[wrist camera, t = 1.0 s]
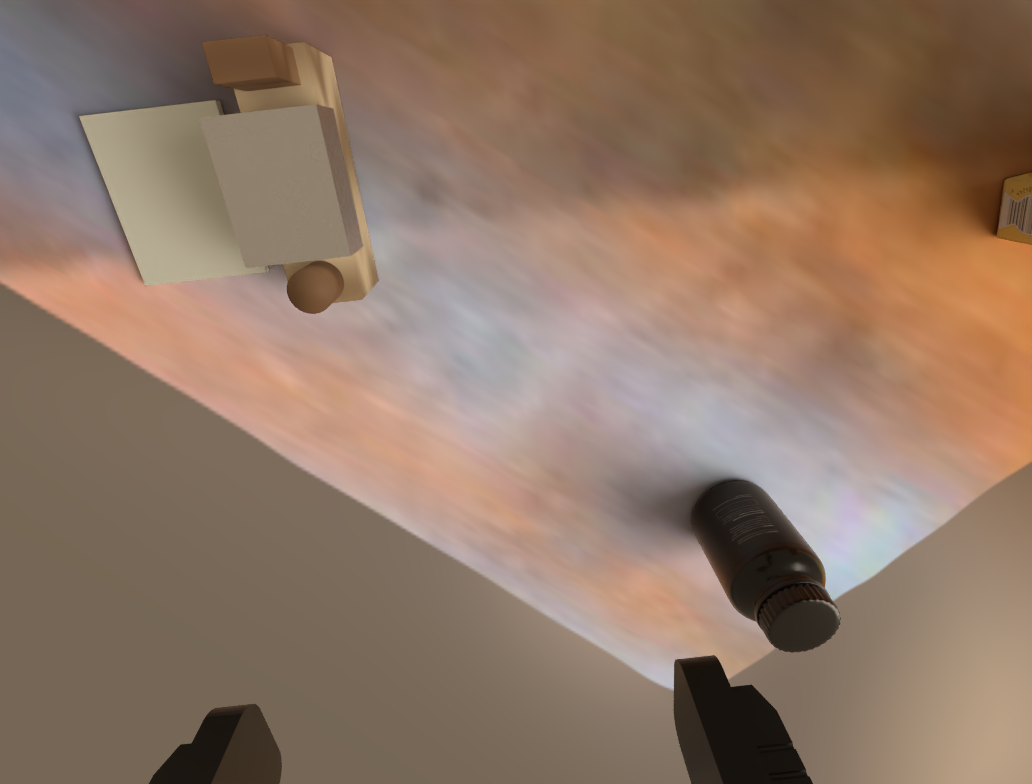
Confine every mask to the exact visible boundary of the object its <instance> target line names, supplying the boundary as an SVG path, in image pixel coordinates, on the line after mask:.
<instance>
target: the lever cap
mask: <svg viewBox="0 0 1032 784" xmlns="http://www.w3.org/2000/svg"><path fill="white" fill-rule="evenodd" d="M199 120H200V123H201V126H202V129H203V133H204V136H205V139H206V142H207V145H208V149H209V152H210V155H211V158H212V162H213V165H214V168H215V171H216V174H217V178H218V181H219V184H220V187H221V191H222V194H223V197H224V200H225V203H226V207H227V210H228V213H229V216H230V220H231V223H232V226H233V229H234V232H235V236H236V239H237V242H238V245H239V249H240V252H241V255H242V258H243V261H244V265H245V268H252V267H261V266H269V265H278V264H287V263H296V262H304V261H313V260H322V259H330V258H339V257H348V256H352V255H353V254H354V253H356V252H357V251H358V250H360V249H361V248H362V247H363V242H362V238H361V233H360V228H359V224H358V219H357V215H356V210H355V205H354V201H353V196H352V192H351V187H350V182H349V178H348V173H347V169H346V164H345V159H344V155H343V150H342V146H341V141H340V136H339V132H338V127H337V123H336V118H335V113H334V109H333V108H329V107H325V106H321V105H317V104H313V105H305V106H296V107H288V108H279V109H271V110H262V111H254V112H245V113H237V114H228V115H220V116H211V117H203V118H199Z"/></svg>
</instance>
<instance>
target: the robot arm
mask: <svg viewBox="0 0 1032 784" xmlns="http://www.w3.org/2000/svg"><path fill="white" fill-rule="evenodd" d="M674 719H675V726H676V731H677V736H678V740H679V744H680V748H681V751H682V754H683V757H684V760H685V764H686V767H687V771H688V774H689V777H690V780H691V784H813V783H812V781H811V779H810V777H808V776H807V773H806V769H805V767H804V765H803V763H802V761H801V759H800V757H799V755H798V753H797V751H796V749H794V747H793V744H792V741H791V739H790V737H789V735H788V733H787V731H786V729H785V727H784V724H783V722H782V720H781V719H780V716H779V714H778V712H777V711H776V710H775V708H774V707H773V706H772V705H771V704H770V703H769V702H768V701H767V700H766V699H765V698H764V697H763V696H762V695H761V694H760V693H759V692H758V691H757V690H756V689H755V688H754V687H753V686H752V685H745V686H736V687H730V684H729V682H728V679H727V677H726V675H725V672H724V670H723V668H722V666H721V663H720V662H719V660H718V659H717V657H716V656H714V655H713V656H704V657H695V658H686V659H677V660H675V664H674ZM281 764H282V763H281V754H280V751H279V748H278V746H277V744H276V742H275V740H274V738H273V735H272V733H271V731H270V729H269V727H268V725H267V723H266V721H265V719H264V716H263V714H262V712H261V710H260V708H259V707H258V706H257V705H256V704H248V705H239V706H230V707H221V708H215V709H213V710H211V711H210V712H209V713H208V714H207V716H206V717H205V719H204V720H203V722H202V724H201V726H200V728H199V730H198V732H197V734H196V736H195V738H194V740H193V742H192V743H191V744H182V745H180V746H179V747H178V748H177V749H176V750H175V751H174V753H173V754H172V755H171V756H170V757H169V758H168V759H167V761H166V762H165V763H164V764H163V765H162V766H161V767H160V769H159V770H158V771H157V772H156V773H155V774H154V775H153V777H152V779H151V781H150V783H149V784H279V783H280V777H281V767H282V765H281Z"/></svg>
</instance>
